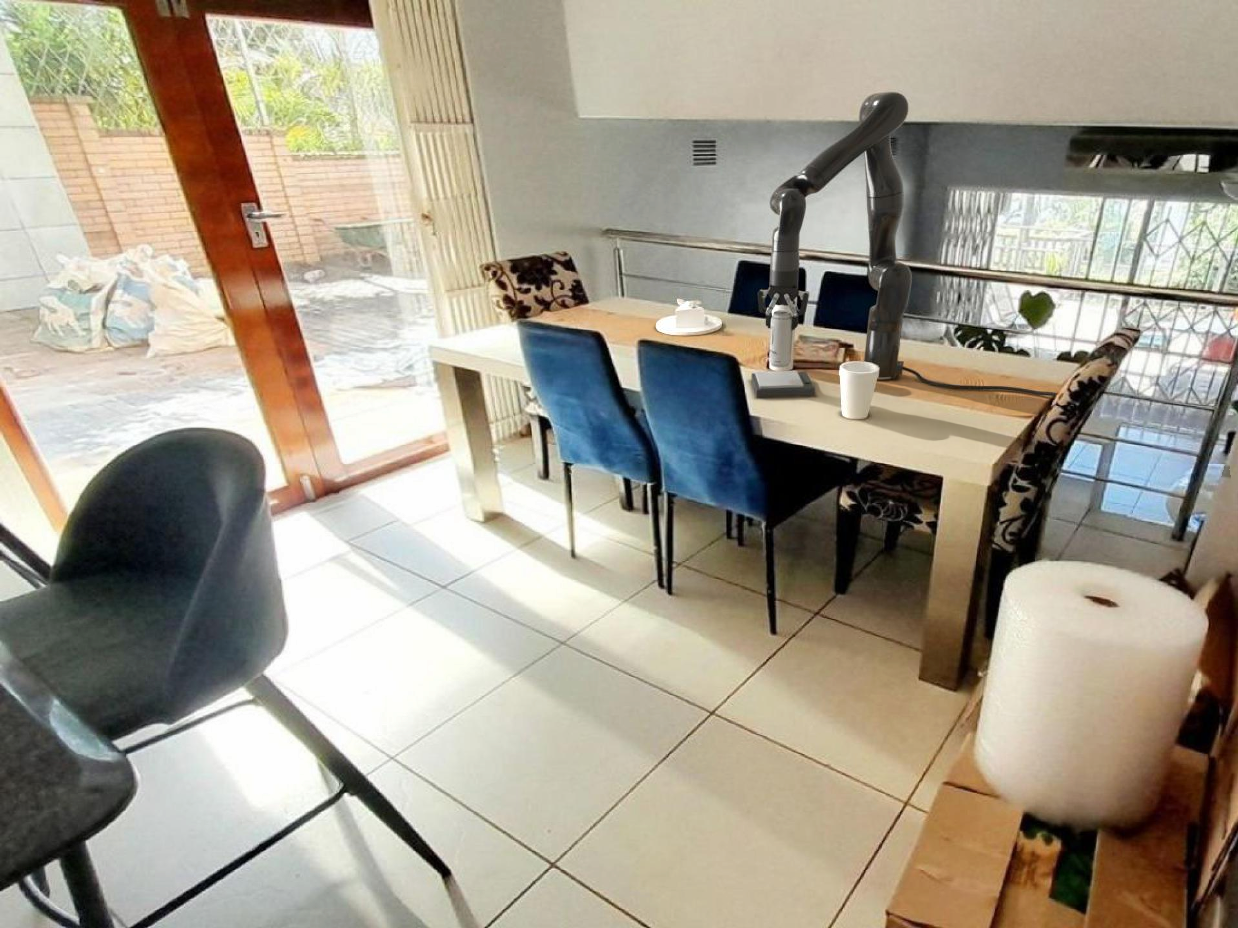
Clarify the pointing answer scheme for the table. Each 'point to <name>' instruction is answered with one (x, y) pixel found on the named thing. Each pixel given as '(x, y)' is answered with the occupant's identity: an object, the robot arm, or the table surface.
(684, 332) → the dish
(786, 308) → the cylindrical container
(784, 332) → the energy drink can
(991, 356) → the table surface
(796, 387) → the scale
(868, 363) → the foam cup
